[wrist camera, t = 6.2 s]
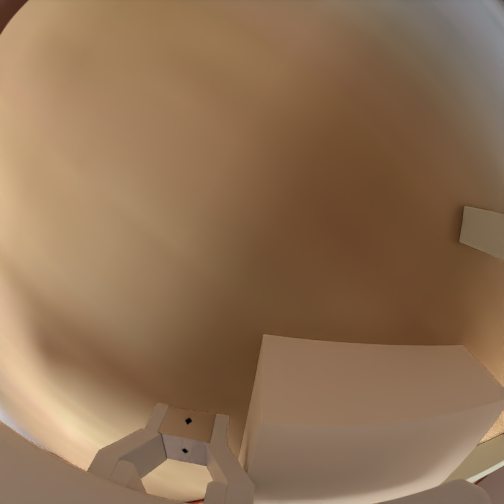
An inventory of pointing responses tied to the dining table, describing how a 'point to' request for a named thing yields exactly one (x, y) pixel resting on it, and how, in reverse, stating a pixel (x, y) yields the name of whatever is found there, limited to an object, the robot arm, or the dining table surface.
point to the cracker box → (199, 503)
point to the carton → (362, 419)
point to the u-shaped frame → (500, 246)
